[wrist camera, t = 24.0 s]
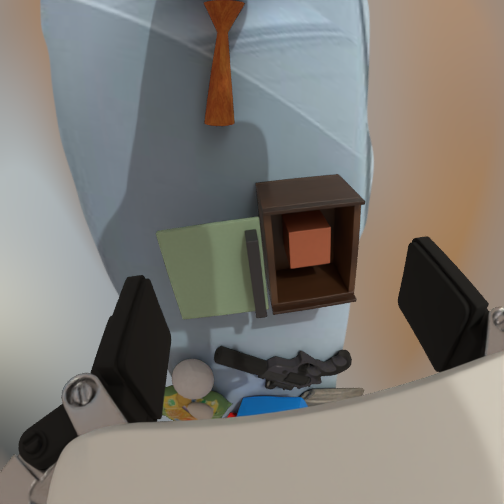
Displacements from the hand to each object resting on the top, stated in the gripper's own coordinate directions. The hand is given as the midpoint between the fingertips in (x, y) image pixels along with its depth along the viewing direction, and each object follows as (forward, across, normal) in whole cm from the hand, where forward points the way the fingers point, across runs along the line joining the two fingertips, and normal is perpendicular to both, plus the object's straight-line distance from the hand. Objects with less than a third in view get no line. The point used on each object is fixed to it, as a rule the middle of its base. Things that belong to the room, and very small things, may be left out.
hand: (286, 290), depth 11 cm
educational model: (+23, +20, +43) cm, 53 cm away
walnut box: (+28, -6, +13) cm, 32 cm away
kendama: (+28, +1, -12) cm, 31 cm away
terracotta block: (+28, -6, +13) cm, 31 cm away
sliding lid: (+20, +5, +13) cm, 25 cm away
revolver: (+27, -7, +34) cm, 44 cm away
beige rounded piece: (+25, +11, +36) cm, 45 cm away
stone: (+26, -8, +65) cm, 70 cm away
